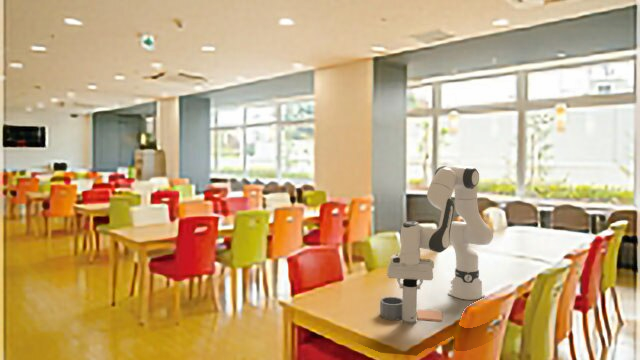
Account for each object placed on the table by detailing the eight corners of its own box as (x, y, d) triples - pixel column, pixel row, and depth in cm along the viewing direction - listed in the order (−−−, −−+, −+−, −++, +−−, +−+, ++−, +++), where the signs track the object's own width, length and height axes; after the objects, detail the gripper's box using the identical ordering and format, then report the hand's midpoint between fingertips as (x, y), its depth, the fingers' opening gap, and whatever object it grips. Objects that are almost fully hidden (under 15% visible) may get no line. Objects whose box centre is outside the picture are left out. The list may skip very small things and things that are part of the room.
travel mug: (415, 325, 203) (416, 280, 201) (400, 322, 205) (401, 279, 204) (418, 320, 209) (419, 276, 207) (403, 318, 211) (404, 275, 209)
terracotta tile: (417, 311, 220) (417, 309, 220) (441, 312, 218) (441, 311, 217) (417, 319, 209) (417, 317, 209) (442, 321, 207) (442, 319, 207)
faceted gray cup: (381, 310, 221) (381, 296, 220) (404, 312, 219) (404, 297, 218) (379, 318, 210) (379, 304, 210) (403, 320, 208) (404, 305, 207)
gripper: (433, 257, 206) (433, 287, 207) (387, 255, 210) (387, 285, 211) (434, 261, 200) (433, 292, 201) (386, 258, 204) (386, 289, 205)
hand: (409, 288), depth 206 cm, fingers closed on travel mug, 6 cm apart
